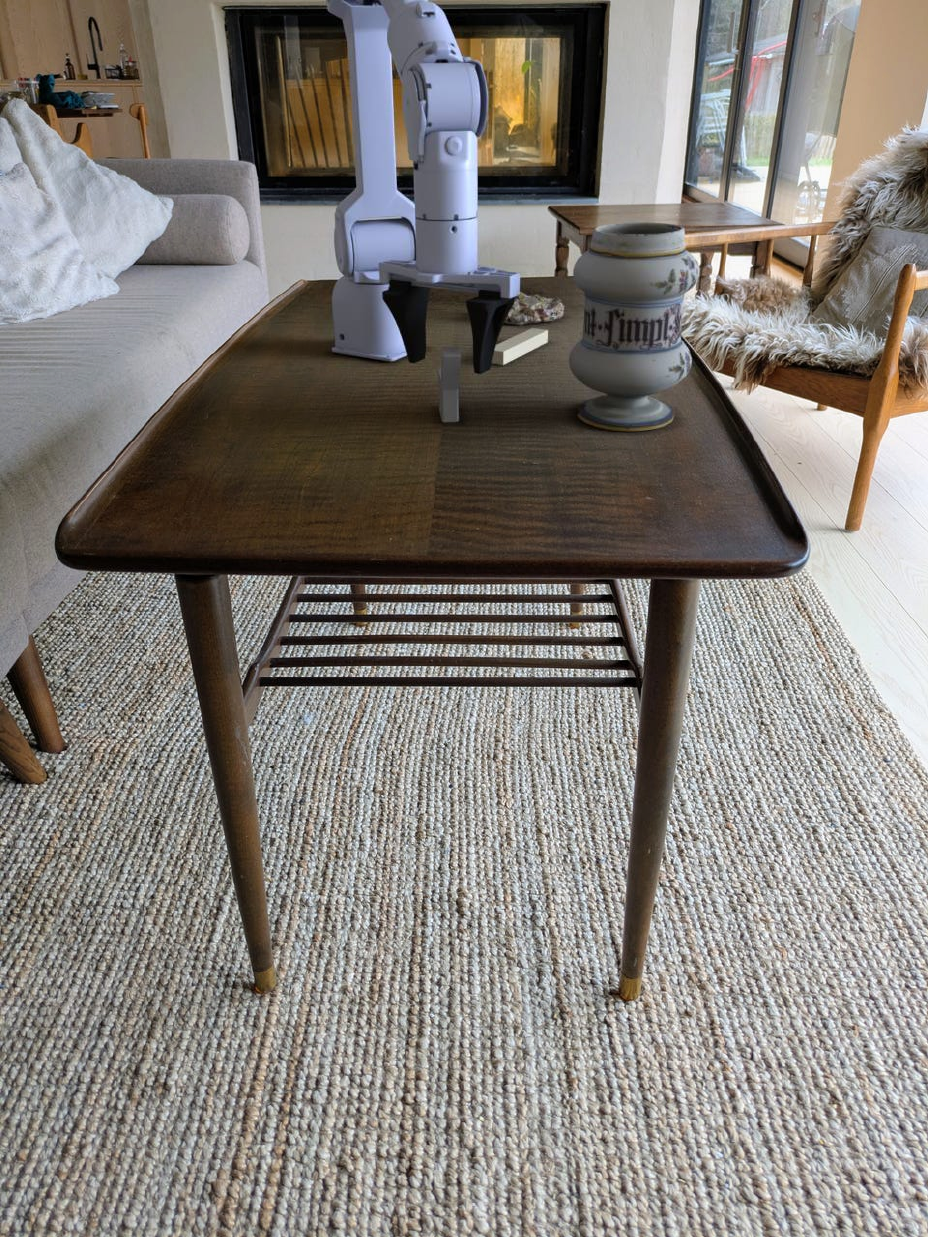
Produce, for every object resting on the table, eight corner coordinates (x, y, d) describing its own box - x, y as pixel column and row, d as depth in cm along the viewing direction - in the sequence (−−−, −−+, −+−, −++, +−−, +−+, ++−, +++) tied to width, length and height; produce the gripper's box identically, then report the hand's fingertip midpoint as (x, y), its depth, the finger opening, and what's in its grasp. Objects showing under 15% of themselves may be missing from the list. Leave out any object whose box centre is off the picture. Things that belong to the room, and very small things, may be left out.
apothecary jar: (562, 397, 98) (571, 217, 89) (673, 397, 98) (694, 217, 88) (570, 435, 88) (580, 237, 78) (694, 436, 87) (720, 236, 78)
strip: (486, 362, 110) (486, 349, 109) (531, 340, 119) (531, 327, 118) (503, 365, 109) (503, 351, 108) (547, 342, 118) (548, 329, 117)
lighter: (438, 409, 95) (436, 331, 91) (455, 408, 95) (453, 331, 91) (444, 432, 89) (442, 350, 85) (461, 431, 89) (460, 350, 85)
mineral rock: (495, 310, 123) (488, 282, 128) (492, 339, 126) (485, 310, 132) (572, 310, 124) (562, 282, 130) (568, 339, 127) (558, 310, 133)
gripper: (355, 217, 83) (365, 365, 90) (494, 227, 76) (493, 386, 83) (399, 208, 88) (405, 349, 95) (532, 217, 81) (528, 368, 88)
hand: (449, 365), depth 89 cm, fingers open, 7 cm apart
